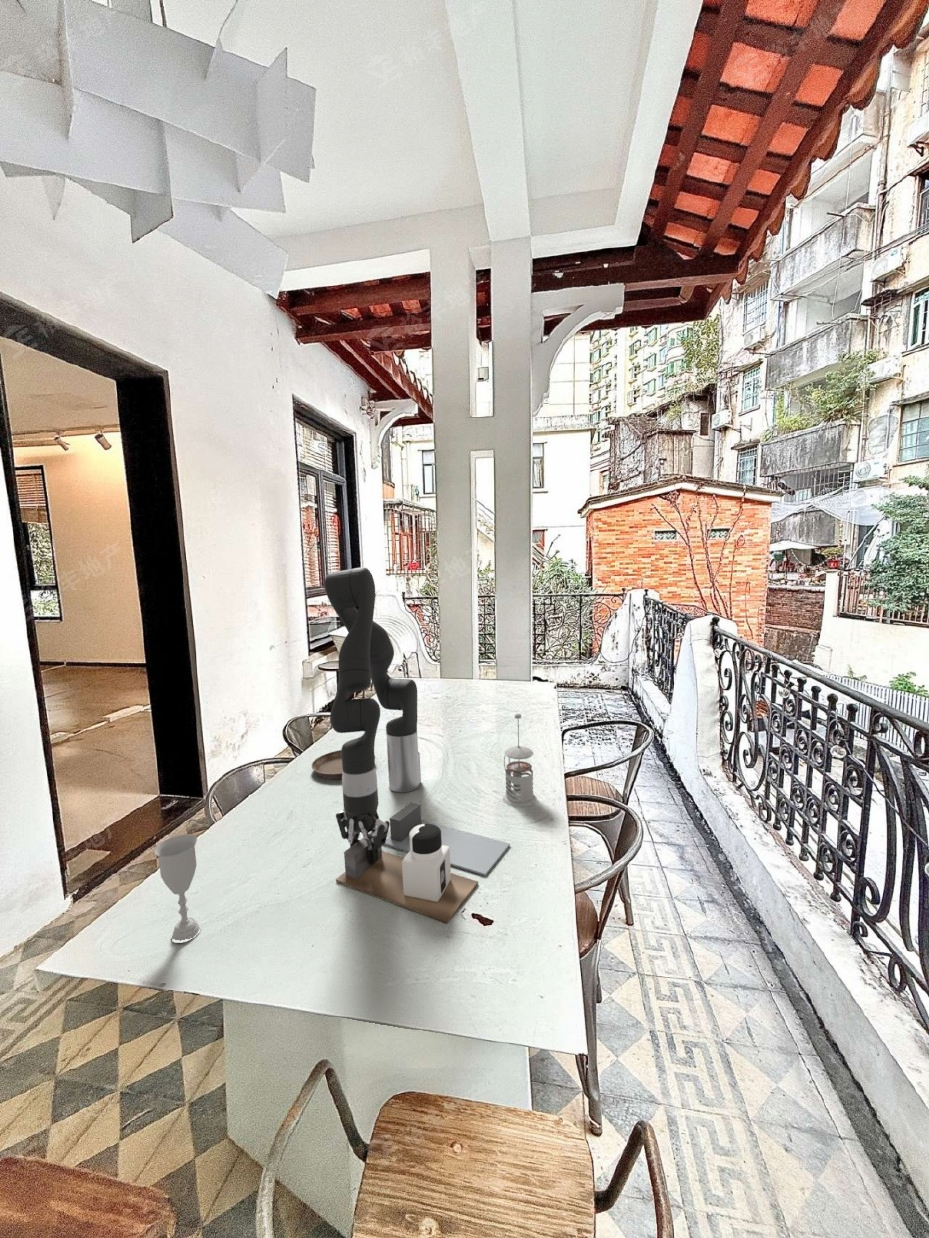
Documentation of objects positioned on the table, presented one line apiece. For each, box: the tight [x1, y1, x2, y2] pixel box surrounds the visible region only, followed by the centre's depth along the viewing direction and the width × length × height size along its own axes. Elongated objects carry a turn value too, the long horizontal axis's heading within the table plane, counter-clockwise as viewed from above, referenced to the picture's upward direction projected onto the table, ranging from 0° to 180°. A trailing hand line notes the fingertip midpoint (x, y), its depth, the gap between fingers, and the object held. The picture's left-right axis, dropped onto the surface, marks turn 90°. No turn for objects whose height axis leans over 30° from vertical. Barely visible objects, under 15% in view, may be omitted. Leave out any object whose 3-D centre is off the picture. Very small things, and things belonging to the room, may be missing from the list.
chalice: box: [154, 833, 201, 941], centre depth 96 cm, size 7×7×18 cm
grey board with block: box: [383, 801, 511, 877], centre depth 123 cm, size 13×28×6 cm, turn 61°
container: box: [402, 824, 452, 902], centre depth 106 cm, size 8×8×13 cm
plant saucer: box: [311, 749, 376, 780], centre depth 170 cm, size 21×21×3 cm
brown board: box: [335, 837, 479, 923], centre depth 109 cm, size 13×28×6 cm, turn 61°
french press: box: [502, 713, 538, 808], centre depth 145 cm, size 10×12×25 cm
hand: (364, 859), depth 115 cm, fingers open, 4 cm apart
